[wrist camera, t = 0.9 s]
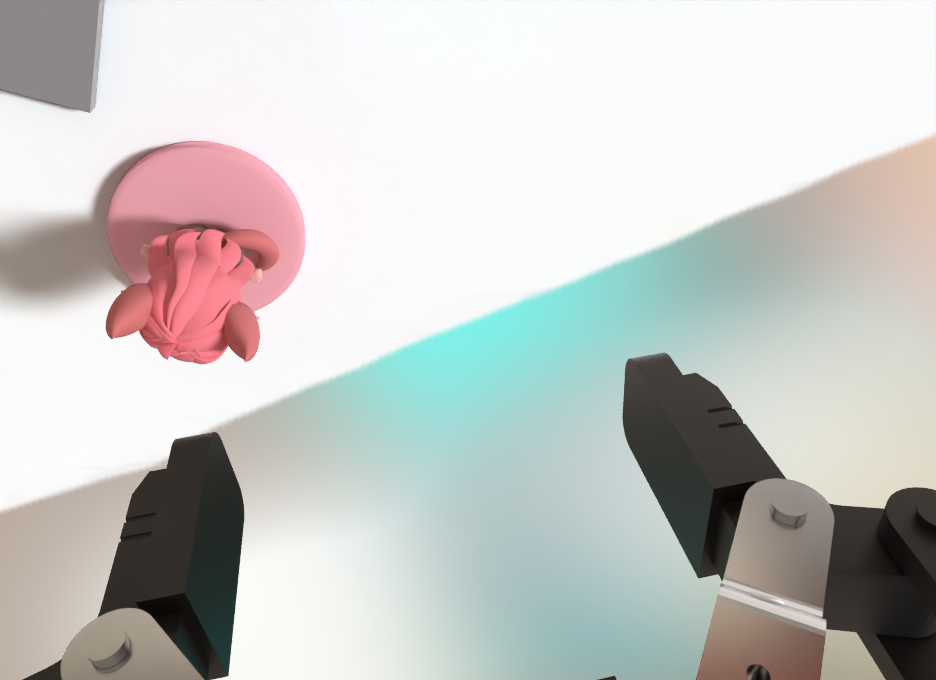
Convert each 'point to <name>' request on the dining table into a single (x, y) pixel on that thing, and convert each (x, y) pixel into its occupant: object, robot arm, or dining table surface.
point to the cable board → (51, 50)
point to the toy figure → (201, 249)
